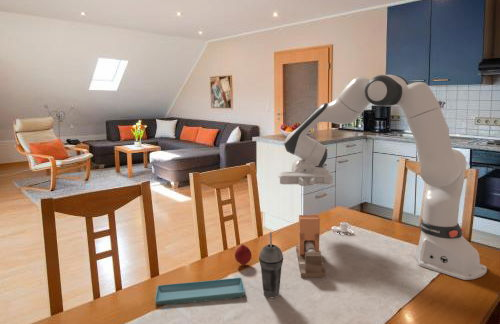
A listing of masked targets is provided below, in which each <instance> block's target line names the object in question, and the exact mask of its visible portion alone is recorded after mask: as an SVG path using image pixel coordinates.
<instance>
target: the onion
mask: <svg viewBox="0 0 500 324" xmlns="http://www.w3.org/2000/svg"><path fill="white" fill-rule="evenodd" d="M234 259H235V260H236V262H237V263H238V264H240V265H241V266H244V265H247V264H248V263H249V262H251V260H252V251H251V250H250V248H249V247H248V246H247V245H245V244H244V243H243V242H242V243H241V244H240V246H238V247H237V248H236V250H235V251H234Z"/></svg>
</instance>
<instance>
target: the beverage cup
mask: <svg viewBox="0 0 500 324" xmlns="http://www.w3.org/2000/svg"><path fill="white" fill-rule="evenodd" d="M272 237H273V235H272V232H269V244H267V245H265V246H263V247H262V248H261V250H260V251H259V256H258V260H259V264H260V265H259V266H260V271H261V282H262V290H263V296H264V297H266V296H267V297H266V298H268V297H275V298H277V297H278V296H279V295H280V289H281V288H280V286H281V276H282V266H283V262H284V255H283V252H282V249H281V248H280V247H279V246H278V245H277V244H276V245H275V244H273V239H272ZM276 296H277V297H276Z"/></svg>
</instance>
